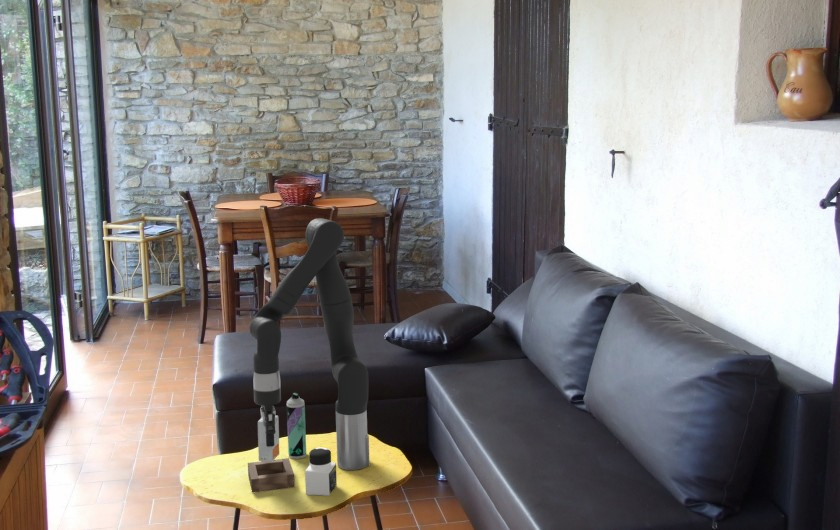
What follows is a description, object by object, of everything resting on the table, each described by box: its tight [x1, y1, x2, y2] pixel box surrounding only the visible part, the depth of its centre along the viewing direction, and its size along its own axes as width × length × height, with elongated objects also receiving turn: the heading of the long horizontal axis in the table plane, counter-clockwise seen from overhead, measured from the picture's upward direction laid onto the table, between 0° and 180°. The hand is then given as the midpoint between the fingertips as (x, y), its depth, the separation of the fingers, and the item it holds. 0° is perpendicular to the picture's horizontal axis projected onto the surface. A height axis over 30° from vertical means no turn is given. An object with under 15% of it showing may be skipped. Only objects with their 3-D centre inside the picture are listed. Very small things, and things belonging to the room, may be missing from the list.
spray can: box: [286, 392, 307, 460], centre depth 274 cm, size 6×6×20 cm
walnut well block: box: [247, 457, 296, 493], centre depth 257 cm, size 12×12×4 cm
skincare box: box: [257, 414, 280, 462], centre depth 255 cm, size 6×4×12 cm
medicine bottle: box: [304, 447, 338, 497], centre depth 250 cm, size 7×7×12 cm
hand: (268, 441), depth 255 cm, fingers closed on skincare box, 7 cm apart
